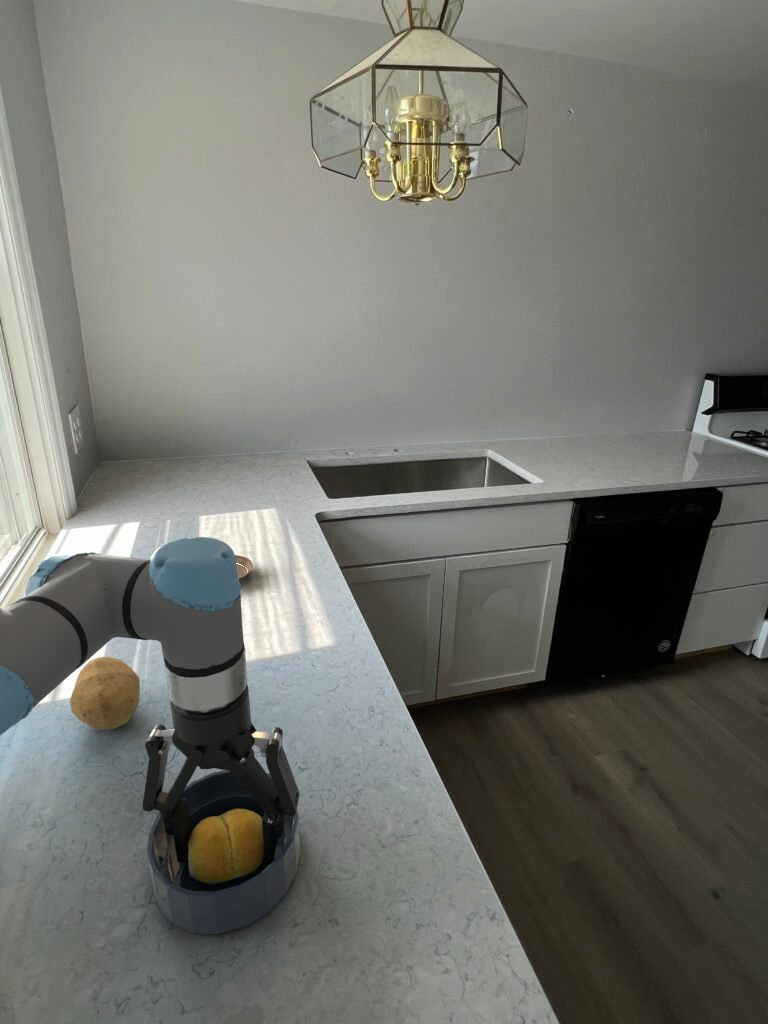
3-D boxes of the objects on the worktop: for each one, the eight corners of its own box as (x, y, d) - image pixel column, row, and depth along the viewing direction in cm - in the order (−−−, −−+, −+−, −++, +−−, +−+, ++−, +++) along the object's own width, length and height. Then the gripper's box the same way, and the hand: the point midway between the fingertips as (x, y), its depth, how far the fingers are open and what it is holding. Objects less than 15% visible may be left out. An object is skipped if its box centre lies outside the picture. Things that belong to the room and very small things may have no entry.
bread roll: (275, 870, 62) (273, 844, 60) (191, 899, 59) (186, 872, 57) (262, 810, 69) (260, 786, 67) (186, 834, 66) (182, 808, 64)
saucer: (230, 598, 121) (229, 587, 120) (174, 586, 125) (172, 576, 125) (265, 569, 134) (264, 559, 133) (213, 560, 139) (212, 550, 138)
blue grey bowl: (128, 934, 57) (119, 893, 54) (185, 802, 72) (180, 766, 69) (285, 940, 56) (282, 899, 54) (309, 806, 71) (307, 770, 69)
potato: (77, 759, 78) (66, 713, 75) (73, 700, 89) (64, 658, 87) (151, 735, 82) (144, 691, 80) (139, 682, 94) (132, 642, 91)
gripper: (323, 669, 59) (327, 826, 67) (118, 664, 59) (147, 820, 67) (313, 719, 52) (319, 888, 60) (80, 712, 52) (117, 881, 60)
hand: (228, 852), depth 63 cm, fingers closed on bread roll, 9 cm apart
